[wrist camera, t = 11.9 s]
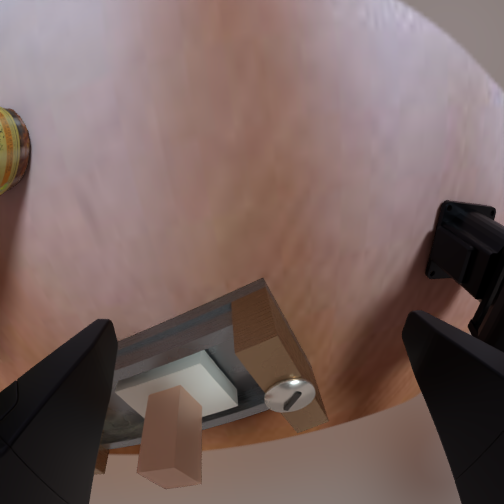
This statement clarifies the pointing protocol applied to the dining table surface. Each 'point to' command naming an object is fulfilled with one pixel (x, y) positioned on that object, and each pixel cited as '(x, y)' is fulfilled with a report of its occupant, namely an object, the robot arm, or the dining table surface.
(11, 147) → the sauce bottle
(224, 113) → the dining table surface
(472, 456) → the robot arm
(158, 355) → the rail
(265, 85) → the dining table surface
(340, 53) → the dining table surface
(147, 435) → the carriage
